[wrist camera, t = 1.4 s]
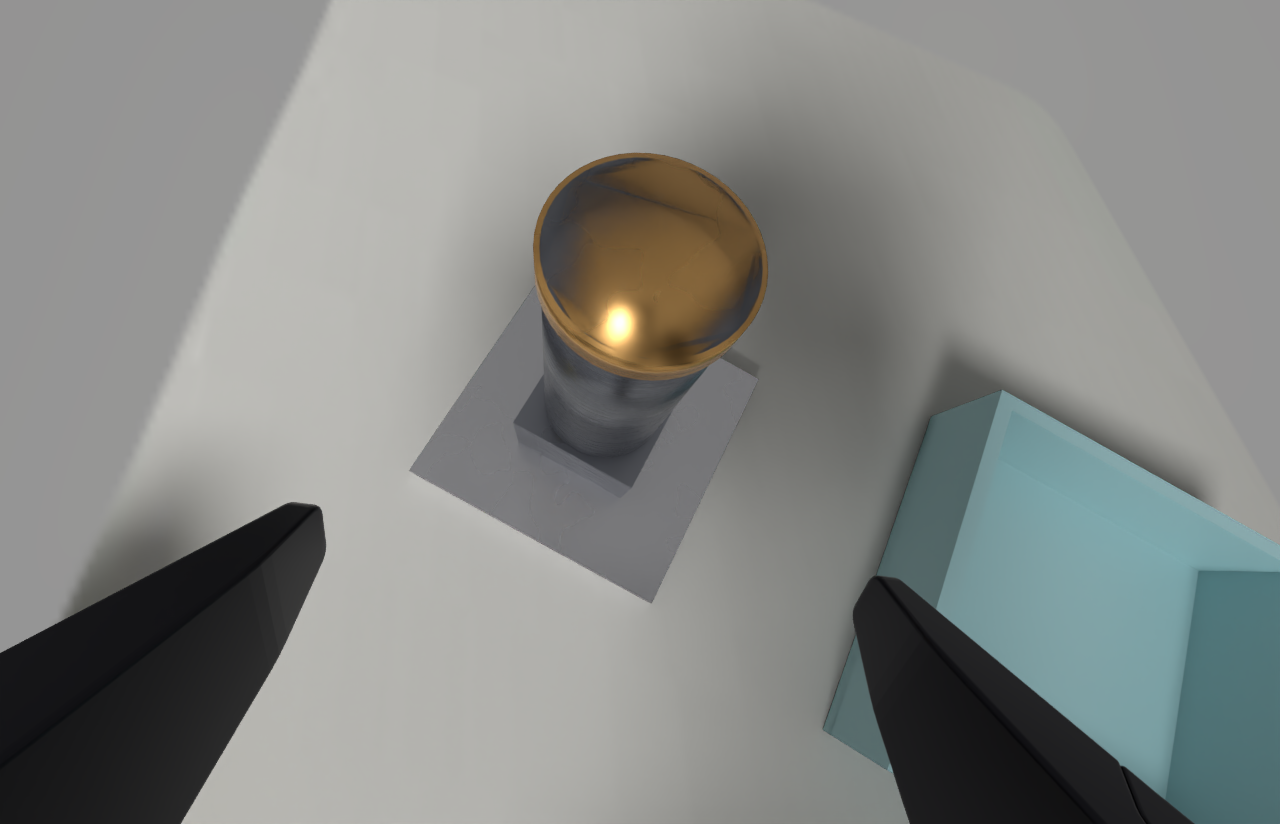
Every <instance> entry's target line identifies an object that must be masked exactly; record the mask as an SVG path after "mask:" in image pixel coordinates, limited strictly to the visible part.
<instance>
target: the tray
mask: <svg viewBox="0 0 1280 824" xmlns="http://www.w3.org/2000/svg"><path fill="white" fill-rule="evenodd" d="M877 575H879V576H887V577H895V578H898V579H900V580H901V581H903V582H904V583H905V584H906V585H907V586H909V587H910V588H911V589H912V590H913V591H915V592H916V593H917V594H918V595H919V596H921V597H922V598H923V599H924V600H925V601H927V602H928V603H929V604H930V605H931V606H933V607H934V608H935V609H936V610H937V611H939V612H940V613H941V614H942V615H943V616H945V617H946V618H947V619H948V620H949V621H951V622H952V623H953V624H954V625H955V626H957V627H958V628H959V629H960V630H961V631H963V632H964V633H965V634H966V635H968V636H969V637H970V638H971V639H972V640H974V641H975V642H976V643H977V644H978V645H980V646H981V647H982V648H983V649H984V650H986V651H987V652H988V653H989V654H990V655H992V656H993V657H994V658H995V659H996V660H998V661H999V662H1000V663H1001V664H1002V665H1004V666H1005V667H1006V668H1007V669H1008V670H1010V671H1011V672H1012V673H1013V674H1014V675H1016V676H1017V677H1018V678H1019V679H1020V680H1022V681H1023V682H1024V683H1025V684H1026V685H1028V686H1029V687H1030V688H1031V689H1032V690H1034V691H1035V692H1036V693H1037V694H1038V695H1040V696H1041V697H1042V698H1043V699H1044V700H1046V701H1047V702H1048V703H1049V704H1050V705H1052V706H1053V707H1054V708H1055V709H1056V710H1058V711H1059V712H1060V713H1061V714H1062V715H1064V716H1065V717H1066V718H1067V719H1069V720H1070V721H1071V722H1072V723H1073V724H1075V725H1076V726H1077V727H1078V728H1079V729H1081V730H1082V731H1083V732H1084V733H1085V734H1087V735H1088V736H1089V737H1090V738H1091V739H1093V740H1094V741H1095V742H1096V743H1097V744H1099V745H1100V746H1101V747H1102V748H1103V749H1105V750H1106V751H1107V752H1108V753H1109V754H1111V755H1112V756H1113V757H1114V758H1115V759H1117V760H1118V762H1119V763H1120V766H1125V767H1126V768H1128V769H1129V770H1130V771H1131V772H1132V773H1134V774H1135V775H1136V776H1137V777H1138V778H1140V779H1141V780H1142V781H1143V782H1144V783H1145V784H1147V785H1148V786H1149V787H1150V788H1151V789H1153V790H1154V791H1155V792H1156V793H1158V794H1159V795H1160V796H1161V797H1162V798H1164V799H1165V800H1166V801H1167V802H1169V803H1170V804H1171V805H1172V806H1174V807H1175V808H1176V809H1177V810H1178V811H1180V812H1181V813H1182V814H1183V815H1185V816H1186V817H1187V818H1188V819H1190V820H1191V821H1192V822H1193V823H1194V824H1280V545H1279V544H1277V543H1275V542H1273V541H1271V540H1270V539H1268V538H1266V537H1264V536H1263V535H1261V534H1259V533H1257V532H1255V531H1254V530H1252V529H1250V528H1248V527H1246V526H1245V525H1243V524H1241V523H1239V522H1238V521H1236V520H1234V519H1232V518H1230V517H1229V516H1227V515H1225V514H1223V513H1221V512H1220V511H1218V510H1216V509H1214V508H1213V507H1211V506H1209V505H1207V504H1205V503H1204V502H1202V501H1200V500H1198V499H1197V498H1195V497H1193V496H1191V495H1189V494H1188V493H1186V492H1184V491H1182V490H1180V489H1179V488H1177V487H1175V486H1173V485H1172V484H1170V483H1168V482H1166V481H1164V480H1163V479H1161V478H1159V477H1157V476H1155V475H1154V474H1152V473H1150V472H1148V471H1147V470H1145V469H1143V468H1141V467H1139V466H1138V465H1136V464H1134V463H1132V462H1131V461H1129V460H1127V459H1125V458H1123V457H1122V456H1120V455H1118V454H1116V453H1114V452H1113V451H1111V450H1109V449H1107V448H1106V447H1104V446H1102V445H1100V444H1098V443H1097V442H1095V441H1093V440H1091V439H1089V438H1088V437H1086V436H1084V435H1082V434H1081V433H1079V432H1077V431H1075V430H1073V429H1072V428H1070V427H1068V426H1066V425H1065V424H1063V423H1061V422H1059V421H1057V420H1056V419H1054V418H1052V417H1050V416H1048V415H1047V414H1045V413H1043V412H1041V411H1040V410H1038V409H1036V408H1034V407H1032V406H1031V405H1029V404H1027V403H1025V402H1023V401H1022V400H1020V399H1018V398H1016V397H1015V396H1013V395H1011V394H1009V393H1007V392H1006V391H1004V390H1000V391H997V392H995V393H992V394H990V395H987V396H984V397H982V398H979V399H976V400H974V401H971V402H968V403H966V404H963V405H960V406H958V407H955V408H952V409H950V410H947V411H944V412H942V413H939V414H936V415H934V416H931V419H930V422H929V424H928V427H927V430H926V433H925V436H924V439H923V442H922V445H921V448H920V450H919V453H918V456H917V459H916V462H915V465H914V468H913V471H912V474H911V477H910V479H909V482H908V485H907V488H906V491H905V494H904V497H903V500H902V503H901V505H900V508H899V511H898V514H897V517H896V520H895V523H894V526H893V529H892V531H891V534H890V537H889V540H888V543H887V546H886V549H885V552H884V555H883V558H882V560H881V563H880V566H879V569H878V572H877ZM877 575H876V576H877ZM823 730H824V731H825V732H827V733H829V734H830V735H832V736H833V737H835V738H837V739H838V740H840V741H841V742H843V743H845V744H846V745H848V746H849V747H851V748H853V749H854V750H856V751H857V752H859V753H861V754H862V755H864V756H865V757H867V758H869V759H870V760H872V761H873V762H875V763H877V764H878V765H880V766H881V767H883V768H884V769H886V770H888V771H890V772H891V773H893V771H892V767H891V764H890V761H889V758H888V755H887V752H886V749H885V746H884V743H883V740H882V737H881V733H880V730H879V727H878V724H877V721H876V717H875V714H874V711H873V707H872V703H871V699H870V695H869V691H868V686H867V682H866V677H865V673H864V668H863V663H862V659H861V654H860V650H859V645H858V641H857V636H855V639H854V641H853V644H852V647H851V650H850V653H849V656H848V659H847V662H846V665H845V667H844V670H843V673H842V676H841V679H840V682H839V685H838V688H837V691H836V693H835V696H834V699H833V702H832V705H831V708H830V711H829V714H828V717H827V720H826V722H825V725H824V728H823Z"/></svg>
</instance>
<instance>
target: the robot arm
mask: <svg viewBox="0 0 1280 824" xmlns="http://www.w3.org/2000/svg"><path fill="white" fill-rule="evenodd" d="M325 552H326V539H325V531H324V523H323V514H322V510H321V509H320V507H319V506H317V505H313V504H305V503H297V502H290V503H287V504H284V505H282V506H281V507H279V508H277V509H275V510H273V511H271V512H269V513H267V514H265V515H263V516H261V517H259V518H258V519H256V520H254V521H252V522H250V523H248V524H246V525H244V526H242V527H240V528H238V529H237V530H235V531H233V532H231V533H229V534H227V535H225V536H223V537H221V538H219V539H217V540H216V541H214V542H212V543H210V544H208V545H206V546H204V547H202V548H200V549H198V550H196V551H194V552H193V553H191V554H189V555H187V556H185V557H183V558H181V559H179V560H177V561H175V562H173V563H172V564H170V565H168V566H166V567H164V568H162V569H160V570H158V571H156V572H154V573H152V574H151V575H149V576H147V577H145V578H143V579H141V580H139V581H137V582H135V583H133V584H131V585H129V586H128V587H126V588H124V589H122V590H120V591H118V592H116V593H114V594H112V595H110V596H108V597H107V598H105V599H103V600H101V601H99V602H97V603H95V604H93V605H91V606H89V607H87V608H86V609H84V610H82V611H80V612H78V613H76V614H74V615H72V616H70V617H68V618H66V619H64V620H63V621H61V622H59V623H57V624H55V625H53V626H51V627H49V628H47V629H45V630H44V631H42V632H40V633H38V634H36V635H34V636H32V637H30V638H28V639H26V640H24V641H22V642H21V643H19V644H17V645H15V646H13V647H11V648H9V649H7V650H6V651H3V652H1V653H0V824H181V823H182V821H183V819H184V817H185V816H186V814H187V812H188V811H189V809H190V807H191V806H192V804H193V802H194V800H195V799H196V797H197V795H198V794H199V792H200V790H201V789H202V787H203V785H204V783H205V782H206V780H207V778H208V777H209V775H210V773H211V772H212V770H213V768H214V767H215V765H216V763H217V761H218V760H219V758H220V756H221V755H222V753H223V751H224V750H225V748H226V746H227V744H228V743H229V741H230V739H231V738H232V736H233V734H234V733H235V731H236V729H237V728H238V726H239V724H240V722H241V721H242V719H243V717H244V716H245V714H246V712H247V711H248V709H249V707H250V705H251V704H252V702H253V700H254V699H255V697H256V695H257V694H258V692H259V690H260V689H261V687H262V685H263V683H264V682H265V680H266V678H267V677H268V675H269V673H270V672H271V670H272V668H273V666H274V664H275V663H276V661H277V659H278V657H279V655H280V653H281V651H282V649H283V647H284V645H285V643H286V641H287V639H288V637H289V634H290V632H291V630H292V628H293V626H294V623H295V621H296V619H297V617H298V615H299V612H300V610H301V608H302V606H303V604H304V601H305V599H306V597H307V595H308V593H309V590H310V588H311V586H312V584H313V582H314V579H315V577H316V575H317V573H318V571H319V568H320V566H321V564H322V562H323V559H324V556H325ZM853 623H854V627H855V632H856V636H857V641H858V645H859V650H860V654H861V659H862V663H863V668H864V673H865V677H866V682H867V686H868V691H869V695H870V699H871V703H872V707H873V711H874V714H875V717H876V721H877V724H878V727H879V730H880V733H881V737H882V740H883V743H884V746H885V749H886V752H887V755H888V758H889V761H890V764H891V767H892V771H893V774H894V777H895V780H896V783H897V786H898V789H899V792H900V795H901V798H902V801H903V804H904V808H905V811H906V814H907V817H908V820H909V823H910V824H1194V823H1193V822H1192V821H1191V820H1190V819H1188V818H1187V817H1186V816H1185V815H1183V814H1182V813H1181V812H1180V811H1178V810H1177V809H1176V808H1175V807H1174V806H1172V805H1171V804H1170V803H1169V802H1167V801H1166V800H1165V799H1164V798H1162V797H1161V796H1160V795H1159V794H1158V793H1156V792H1155V791H1154V790H1153V789H1151V788H1150V787H1149V786H1148V785H1147V784H1145V783H1144V782H1143V781H1142V780H1141V779H1140V778H1138V777H1137V776H1136V775H1135V774H1134V773H1132V772H1131V771H1130V770H1129V769H1128V768H1126V767H1125V766H1120V763H1119V762H1118V760H1117V759H1115V758H1114V757H1113V756H1112V755H1111V754H1109V753H1108V752H1107V751H1106V750H1105V749H1103V748H1102V747H1101V746H1100V745H1099V744H1097V743H1096V742H1095V741H1094V740H1093V739H1091V738H1090V737H1089V736H1088V735H1087V734H1085V733H1084V732H1083V731H1082V730H1081V729H1079V728H1078V727H1077V726H1076V725H1075V724H1073V723H1072V722H1071V721H1070V720H1069V719H1067V718H1066V717H1065V716H1064V715H1062V714H1061V713H1060V712H1059V711H1058V710H1056V709H1055V708H1054V707H1053V706H1052V705H1050V704H1049V703H1048V702H1047V701H1046V700H1044V699H1043V698H1042V697H1041V696H1040V695H1038V694H1037V693H1036V692H1035V691H1034V690H1032V689H1031V688H1030V687H1029V686H1028V685H1026V684H1025V683H1024V682H1023V681H1022V680H1020V679H1019V678H1018V677H1017V676H1016V675H1014V674H1013V673H1012V672H1011V671H1010V670H1008V669H1007V668H1006V667H1005V666H1004V665H1002V664H1001V663H1000V662H999V661H998V660H996V659H995V658H994V657H993V656H992V655H990V654H989V653H988V652H987V651H986V650H984V649H983V648H982V647H981V646H980V645H978V644H977V643H976V642H975V641H974V640H972V639H971V638H970V637H969V636H968V635H966V634H965V633H964V632H963V631H961V630H960V629H959V628H958V627H957V626H955V625H954V624H953V623H952V622H951V621H949V620H948V619H947V618H946V617H945V616H943V615H942V614H941V613H940V612H939V611H937V610H936V609H935V608H934V607H933V606H931V605H930V604H929V603H928V602H927V601H925V600H924V599H923V598H922V597H921V596H919V595H918V594H917V593H916V592H915V591H913V590H912V589H911V588H910V587H909V586H907V585H906V584H905V583H904V582H903V581H901V580H900V579H898V578H895V577H887V576H879V575H877V576H874V577H872V578H871V579H870V580H869V582H868V583H867V585H866V587H865V589H864V590H863V592H862V594H861V596H860V597H859V599H858V601H857V603H856V604H855V607H854V610H853Z"/></svg>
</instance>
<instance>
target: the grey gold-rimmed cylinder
mask: <svg viewBox="0 0 1280 824" xmlns="http://www.w3.org/2000/svg"><path fill="white" fill-rule="evenodd" d="M533 252H534V270H535V285H536V290H537V294H538V299H539V301H540V304H541V311H542V339H543V367H544V374H543V376H542V377H541V379H540V380H539V382H538V384H537V385H536V387H535V388H534V390H533V391H532V393H531V395H530V396H529V398H528V399H527V401H526V403H525V404H524V406H523V407H522V409H521V410H520V412H519V414H518V415H517V417H516V418H515V420H514V422H513V424H514V428H515V432H516V435H517V439H518V442H519V443H521V444H523V445H525V446H527V447H528V448H530V449H532V450H534V451H536V452H538V453H539V454H541V455H543V456H545V457H547V458H548V459H550V460H552V461H554V462H556V463H557V464H559V465H561V466H563V467H565V468H567V469H568V470H570V471H572V472H574V473H576V474H577V475H579V476H581V477H583V478H585V479H586V480H588V481H590V482H592V483H594V484H596V485H597V486H599V487H601V488H603V489H605V490H606V491H608V492H610V493H612V494H614V495H616V496H617V497H619V498H621V497H622V496H623V495H624V494H626V493H627V492H628V491H629V490H630V489H631V488H632V487H633V485H634V483H635V481H636V479H637V477H638V475H639V473H640V471H641V470H642V468H643V466H644V464H645V462H646V460H647V458H648V456H649V454H650V452H651V451H652V449H653V447H654V445H655V443H656V441H657V439H658V437H659V435H660V434H661V432H662V430H663V428H664V426H665V424H666V422H667V420H668V418H669V416H670V415H671V413H672V411H673V409H674V408H675V407H676V405H677V404H678V403H679V402H680V400H681V399H682V398H683V397H684V396H685V394H686V393H687V392H688V391H689V389H690V388H691V387H692V386H693V385H694V383H695V382H696V381H697V380H698V378H699V377H700V376H701V375H702V374H703V372H704V371H705V370H706V369H707V367H708V366H709V365H711V364H712V363H714V362H715V361H717V360H718V359H719V358H720V357H721V356H723V355H724V354H725V353H726V352H727V351H728V350H729V349H730V348H731V347H732V345H733V344H734V343H735V342H736V341H737V339H738V338H739V337H740V336H741V335H742V334H743V332H744V331H745V330H746V329H747V328H748V326H749V325H750V324H751V323H752V321H753V319H754V318H755V316H756V314H757V313H758V311H759V309H760V306H761V304H762V301H763V299H764V295H765V291H766V287H767V278H768V262H767V254H766V249H765V244H764V241H763V238H762V235H761V232H760V230H759V228H758V226H757V224H756V222H755V220H754V218H753V217H752V215H751V213H750V212H749V210H748V209H747V207H746V206H745V205H744V204H743V202H742V201H741V200H740V199H739V197H738V196H737V195H736V194H735V193H734V192H733V191H732V190H731V189H730V188H729V187H727V186H726V185H725V184H724V183H722V182H721V181H720V180H719V179H717V178H716V177H714V176H713V175H711V174H710V173H708V172H706V171H705V170H703V169H701V168H699V167H697V166H695V165H693V164H690V163H688V162H685V161H682V160H680V159H676V158H672V157H669V156H665V155H658V154H651V153H627V154H618V155H613V156H609V157H605V158H602V159H599V160H596V161H593V162H591V163H589V164H587V165H585V166H583V167H581V168H579V169H578V170H576V171H575V172H573V173H572V174H570V175H569V176H568V177H567V178H565V179H564V180H563V181H562V182H561V183H560V184H559V185H558V186H557V187H556V188H555V190H554V191H553V192H552V193H551V194H550V196H549V198H548V199H547V201H546V202H545V204H544V206H543V208H542V210H541V213H540V215H539V217H538V220H537V224H536V228H535V232H534V243H533Z"/></svg>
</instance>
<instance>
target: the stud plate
mask: <svg viewBox="0 0 1280 824" xmlns="http://www.w3.org/2000/svg"><path fill="white" fill-rule="evenodd" d="M543 374H544V367H543V339H542V311H541V304H540V301H539V299H538V294H537V290H536V285H535V286H534V288H533V289H532V291H531V292H530V294H529V295H528V297H527V298H526V300H525V301H524V302H523V304H522V305H521V307H520V308H519V310H518V311H517V313H516V314H515V316H514V317H513V319H512V320H511V322H510V323H509V324H508V326H507V327H506V329H505V330H504V332H503V333H502V335H501V336H500V338H499V339H498V341H497V342H496V344H495V345H494V346H493V348H492V349H491V351H490V352H489V354H488V355H487V357H486V358H485V360H484V361H483V363H482V364H481V366H480V367H479V369H478V370H477V371H476V373H475V374H474V376H473V377H472V379H471V380H470V382H469V383H468V385H467V386H466V388H465V389H464V391H463V392H462V393H461V395H460V396H459V398H458V399H457V401H456V402H455V404H454V405H453V407H452V408H451V410H450V411H449V413H448V414H447V415H446V417H445V418H444V420H443V421H442V423H441V424H440V426H439V427H438V429H437V430H436V432H435V433H434V435H433V436H432V437H431V439H430V440H429V442H428V443H427V445H426V446H425V448H424V449H423V451H422V452H421V454H420V455H419V457H418V458H417V460H416V461H415V462H414V464H413V465H412V467H411V468H410V470H409V471H411V472H412V473H414V474H416V475H418V476H419V477H421V478H423V479H425V480H427V481H429V482H430V483H432V484H434V485H436V486H438V487H439V488H441V489H443V490H445V491H447V492H449V493H450V494H452V495H454V496H456V497H458V498H459V499H461V500H463V501H465V502H467V503H469V504H470V505H472V506H474V507H476V508H478V509H480V510H481V511H483V512H485V513H487V514H489V515H490V516H492V517H494V518H496V519H498V520H500V521H501V522H503V523H505V524H507V525H509V526H510V527H512V528H514V529H516V530H518V531H520V532H521V533H523V534H525V535H527V536H529V537H531V538H532V539H534V540H536V541H538V542H540V543H541V544H543V545H545V546H547V547H549V548H551V549H552V550H554V551H556V552H558V553H560V554H561V555H563V556H565V557H567V558H569V559H571V560H572V561H574V562H576V563H578V564H580V565H582V566H583V567H585V568H587V569H589V570H591V571H592V572H594V573H596V574H598V575H600V576H602V577H603V578H605V579H607V580H609V581H611V582H612V583H614V584H616V585H618V586H620V587H622V588H623V589H625V590H627V591H629V592H631V593H633V594H634V595H636V596H638V597H640V598H642V599H643V600H645V601H647V602H649V603H652V602H653V599H654V597H655V595H656V593H657V591H658V589H659V587H660V585H661V583H662V581H663V579H664V576H665V574H666V572H667V570H668V568H669V566H670V564H671V562H672V560H673V558H674V555H675V553H676V551H677V549H678V547H679V545H680V543H681V541H682V539H683V537H684V535H685V532H686V530H687V528H688V526H689V524H690V522H691V520H692V518H693V516H694V514H695V511H696V509H697V507H698V505H699V503H700V501H701V499H702V497H703V495H704V493H705V491H706V488H707V486H708V484H709V482H710V480H711V478H712V476H713V474H714V472H715V470H716V467H717V465H718V463H719V461H720V459H721V457H722V455H723V453H724V451H725V449H726V447H727V444H728V442H729V440H730V438H731V436H732V434H733V432H734V430H735V428H736V426H737V423H738V421H739V419H740V417H741V415H742V413H743V411H744V409H745V407H746V405H747V403H748V400H749V398H750V396H751V394H752V392H753V390H754V388H755V386H756V384H757V382H758V378H756V377H754V376H752V375H751V374H749V373H747V372H745V371H743V370H742V369H740V368H738V367H736V366H734V365H733V364H731V363H729V362H727V361H725V360H724V359H722V358H719V359H718V360H717V361H715V362H714V363H712V364H711V365H709V366H708V367H707V369H706V370H705V371H704V372H703V374H702V375H701V376H700V377H699V378H698V380H697V381H696V382H695V383H694V385H693V386H692V387H691V388H690V389H689V391H688V392H687V393H686V394H685V396H684V397H683V398H682V399H681V400H680V402H679V403H678V404H677V405H676V407H675V408H674V409H673V411H672V413H671V415H670V416H669V418H668V420H667V422H666V424H665V426H664V428H663V430H662V432H661V434H660V435H659V437H658V439H657V441H656V443H655V445H654V447H653V449H652V451H651V452H650V454H649V456H648V458H647V460H646V462H645V464H644V466H643V468H642V470H641V471H640V473H639V475H638V477H637V479H636V481H635V483H634V485H633V487H632V488H631V489H630V490H629V491H628V492H627V493H626V494H624V495H623V496H622V497H621V498H619V497H617V496H616V495H614V494H612V493H610V492H608V491H606V490H605V489H603V488H601V487H599V486H597V485H596V484H594V483H592V482H590V481H588V480H586V479H585V478H583V477H581V476H579V475H577V474H576V473H574V472H572V471H570V470H568V469H567V468H565V467H563V466H561V465H559V464H557V463H556V462H554V461H552V460H550V459H548V458H547V457H545V456H543V455H541V454H539V453H538V452H536V451H534V450H532V449H530V448H528V447H527V446H525V445H523V444H521V443H519V442H518V439H517V435H516V432H515V428H514V424H513V422H514V420H515V418H516V417H517V415H518V414H519V412H520V410H521V409H522V407H523V406H524V404H525V403H526V401H527V399H528V398H529V396H530V395H531V393H532V391H533V390H534V388H535V387H536V385H537V384H538V382H539V380H540V379H541V377H542V376H543Z"/></svg>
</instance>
